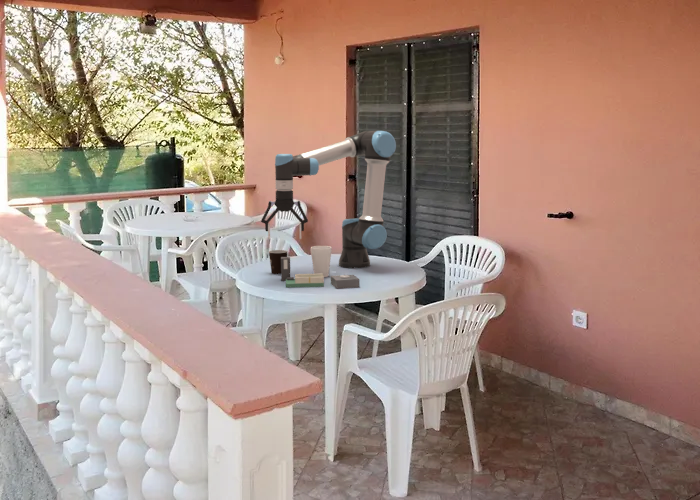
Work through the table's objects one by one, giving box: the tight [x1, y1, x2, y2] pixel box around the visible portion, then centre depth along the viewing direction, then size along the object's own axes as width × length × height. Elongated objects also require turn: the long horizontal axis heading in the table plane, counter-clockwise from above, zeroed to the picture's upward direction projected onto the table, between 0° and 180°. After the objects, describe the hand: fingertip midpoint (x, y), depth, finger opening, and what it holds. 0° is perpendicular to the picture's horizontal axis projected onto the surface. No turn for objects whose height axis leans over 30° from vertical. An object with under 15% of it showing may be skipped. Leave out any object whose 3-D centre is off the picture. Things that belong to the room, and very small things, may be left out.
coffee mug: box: [268, 249, 288, 275], centre depth 349 cm, size 12×9×10 cm
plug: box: [280, 256, 291, 282], centre depth 331 cm, size 4×5×10 cm
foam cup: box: [310, 245, 333, 278], centre depth 340 cm, size 10×9×13 cm
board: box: [285, 276, 325, 288], centre depth 323 cm, size 16×11×2 cm
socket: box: [294, 273, 325, 284], centre depth 321 cm, size 12×8×2 cm, turn 95°
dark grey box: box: [330, 274, 360, 290], centre depth 320 cm, size 10×10×4 cm
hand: (284, 238), depth 329 cm, fingers open, 13 cm apart
